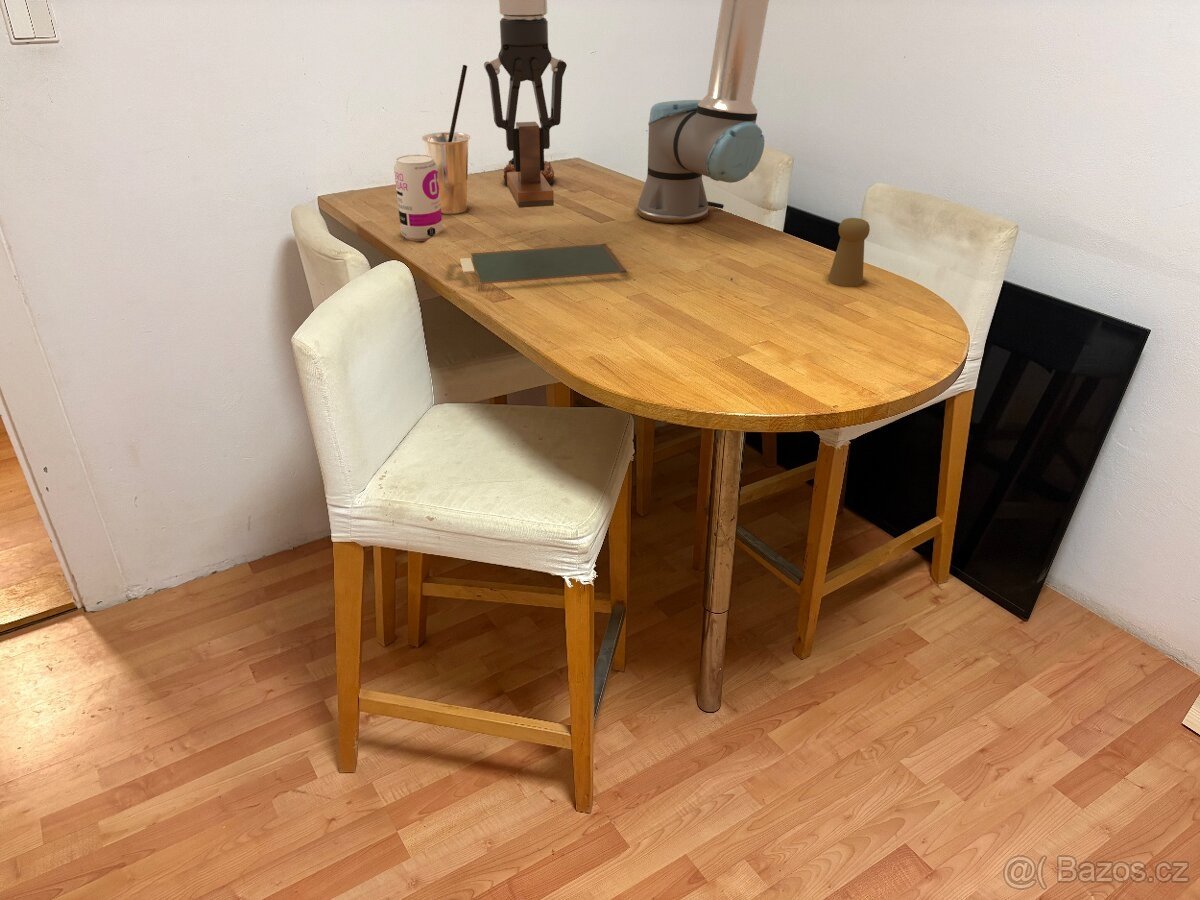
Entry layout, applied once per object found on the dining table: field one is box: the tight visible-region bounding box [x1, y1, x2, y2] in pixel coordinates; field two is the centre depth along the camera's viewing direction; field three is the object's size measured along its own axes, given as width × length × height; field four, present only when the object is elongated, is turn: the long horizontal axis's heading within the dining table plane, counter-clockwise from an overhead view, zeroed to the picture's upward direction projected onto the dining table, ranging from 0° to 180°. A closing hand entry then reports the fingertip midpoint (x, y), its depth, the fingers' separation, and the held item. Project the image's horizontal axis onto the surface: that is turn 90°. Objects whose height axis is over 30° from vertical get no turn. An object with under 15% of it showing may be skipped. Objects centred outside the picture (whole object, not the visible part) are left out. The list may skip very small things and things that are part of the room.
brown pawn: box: [827, 217, 871, 288], centre depth 152 cm, size 6×6×11 cm
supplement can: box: [393, 154, 444, 242], centre depth 169 cm, size 8×8×15 cm
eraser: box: [506, 121, 555, 209], centre depth 147 cm, size 6×13×12 cm, turn 14°
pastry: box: [503, 157, 555, 187], centre depth 207 cm, size 11×12×6 cm
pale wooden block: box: [459, 257, 476, 275], centre depth 155 cm, size 7×2×1 cm, turn 13°
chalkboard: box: [470, 243, 628, 285], centre depth 158 cm, size 26×16×1 cm, turn 104°
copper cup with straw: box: [421, 64, 471, 215], centre depth 180 cm, size 11×11×30 cm
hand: (529, 168), depth 148 cm, fingers closed on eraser, 3 cm apart
